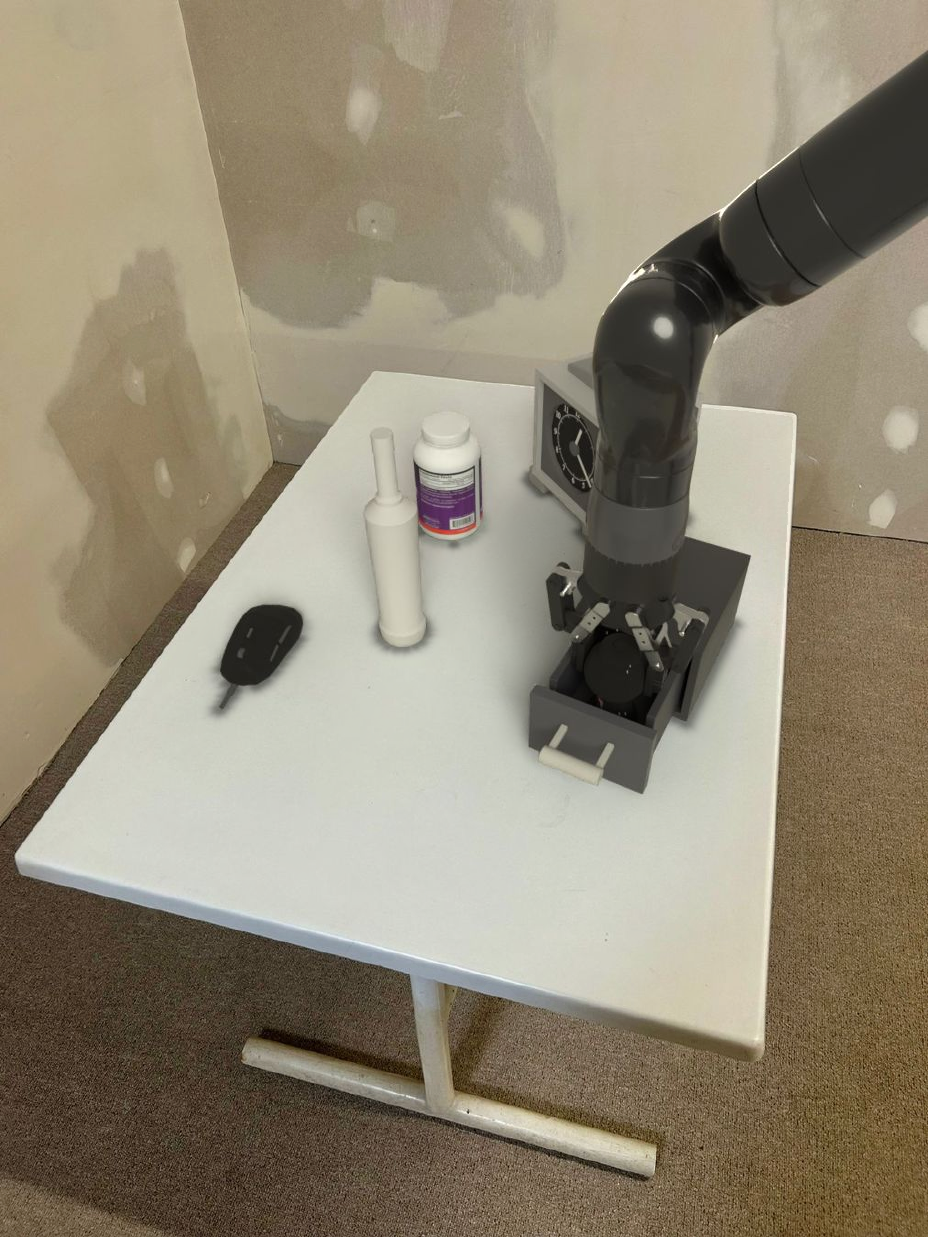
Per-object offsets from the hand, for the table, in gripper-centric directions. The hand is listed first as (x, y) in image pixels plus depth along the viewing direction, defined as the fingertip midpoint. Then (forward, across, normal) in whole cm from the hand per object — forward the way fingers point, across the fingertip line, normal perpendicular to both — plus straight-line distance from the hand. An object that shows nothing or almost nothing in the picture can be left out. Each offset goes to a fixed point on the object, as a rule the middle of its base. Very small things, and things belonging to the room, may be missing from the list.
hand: (616, 676), depth 78 cm
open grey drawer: (+7, 0, +1) cm, 7 cm away
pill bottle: (+8, +30, -22) cm, 38 cm away
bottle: (+8, +25, -3) cm, 27 cm away
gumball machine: (+6, 0, 0) cm, 6 cm away
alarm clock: (+8, +15, -36) cm, 40 cm away
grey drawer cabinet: (+8, 0, -13) cm, 15 cm away
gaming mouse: (+8, +37, +8) cm, 39 cm away
